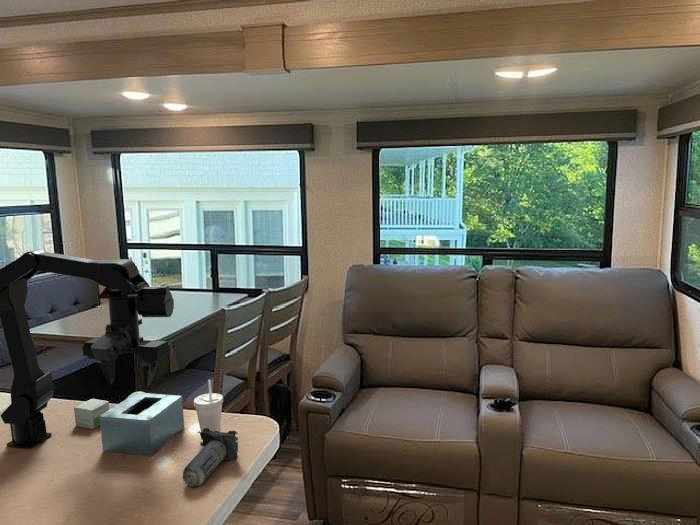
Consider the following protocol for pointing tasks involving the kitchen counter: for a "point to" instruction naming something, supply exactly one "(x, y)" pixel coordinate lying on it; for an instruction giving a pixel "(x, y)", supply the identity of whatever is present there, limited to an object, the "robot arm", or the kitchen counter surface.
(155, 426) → the box
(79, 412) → the small box
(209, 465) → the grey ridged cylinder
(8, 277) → the robot arm
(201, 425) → the smoothie
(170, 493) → the kitchen counter surface
